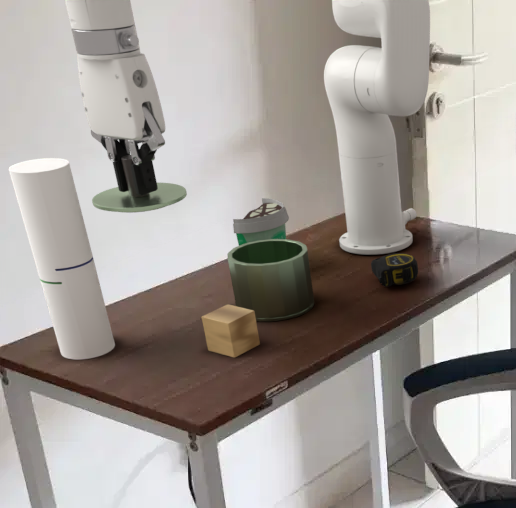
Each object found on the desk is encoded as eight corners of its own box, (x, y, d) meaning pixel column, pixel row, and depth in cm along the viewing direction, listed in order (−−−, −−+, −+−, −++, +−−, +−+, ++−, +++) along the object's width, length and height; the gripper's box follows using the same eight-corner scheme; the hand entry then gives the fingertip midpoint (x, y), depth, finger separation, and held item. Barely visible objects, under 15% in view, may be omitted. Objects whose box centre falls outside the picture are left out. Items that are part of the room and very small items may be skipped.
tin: (273, 287, 157) (265, 234, 153) (329, 300, 152) (323, 245, 147) (221, 312, 149) (210, 257, 144) (278, 327, 144) (269, 270, 139)
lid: (144, 186, 143) (135, 142, 140) (206, 197, 137) (198, 151, 134) (74, 208, 134) (62, 162, 131) (137, 221, 129) (126, 173, 125)
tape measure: (371, 278, 160) (369, 255, 158) (413, 272, 161) (411, 249, 159) (380, 292, 154) (378, 269, 152) (423, 286, 156) (421, 263, 154)
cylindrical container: (114, 355, 137) (67, 169, 124) (59, 362, 136) (5, 175, 122) (115, 335, 143) (70, 155, 130) (62, 342, 141) (11, 161, 128)
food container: (278, 284, 158) (269, 221, 153) (242, 282, 160) (231, 220, 154) (306, 257, 169) (298, 198, 163) (272, 256, 170) (263, 197, 164)
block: (233, 337, 141) (227, 304, 139) (260, 344, 139) (254, 310, 136) (207, 350, 138) (201, 316, 135) (234, 357, 135) (228, 323, 133)
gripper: (175, 42, 124) (202, 191, 134) (87, 34, 131) (119, 177, 141) (127, 51, 119) (159, 206, 128) (39, 43, 126) (75, 190, 136)
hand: (138, 189), depth 135 cm, fingers closed on lid, 2 cm apart
